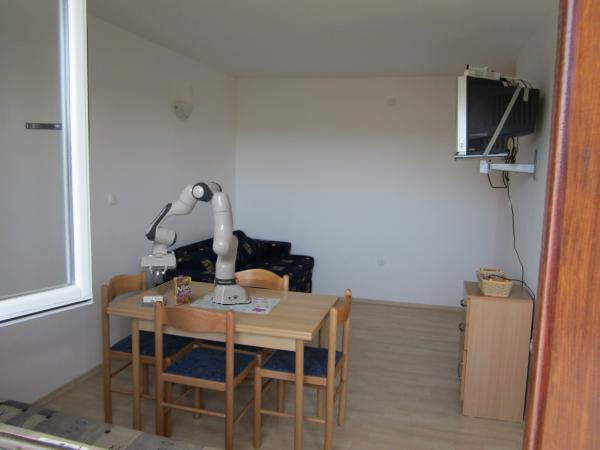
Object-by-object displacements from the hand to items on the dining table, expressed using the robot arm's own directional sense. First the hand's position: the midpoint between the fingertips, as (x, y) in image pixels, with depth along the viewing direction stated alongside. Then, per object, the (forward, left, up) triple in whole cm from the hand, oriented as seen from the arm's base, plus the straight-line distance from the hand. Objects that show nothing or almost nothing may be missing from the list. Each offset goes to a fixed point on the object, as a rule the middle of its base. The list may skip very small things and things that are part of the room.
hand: (157, 274), depth 269 cm
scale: (0, +13, -14) cm, 19 cm away
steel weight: (0, -1, -5) cm, 5 cm away
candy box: (-15, +14, -14) cm, 25 cm away
